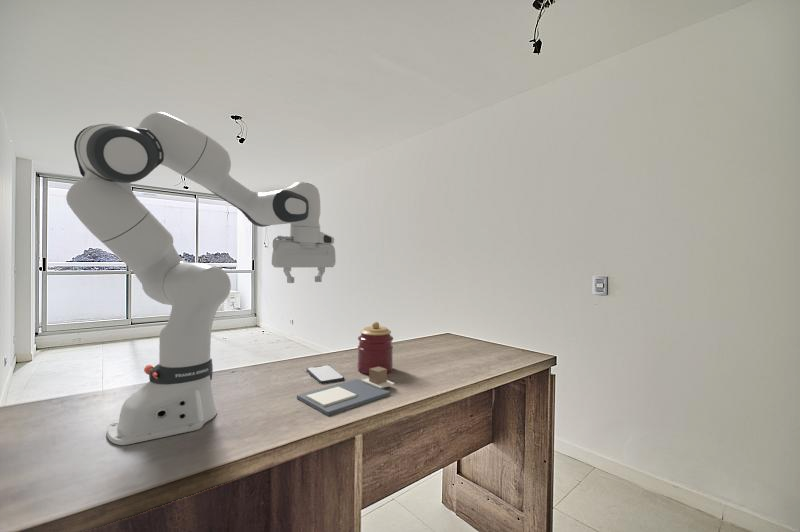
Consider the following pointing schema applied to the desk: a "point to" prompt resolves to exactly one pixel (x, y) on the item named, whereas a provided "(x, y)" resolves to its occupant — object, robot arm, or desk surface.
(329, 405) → the board
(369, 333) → the canister
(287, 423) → the desk surface
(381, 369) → the tan cube with base
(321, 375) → the smartphone
